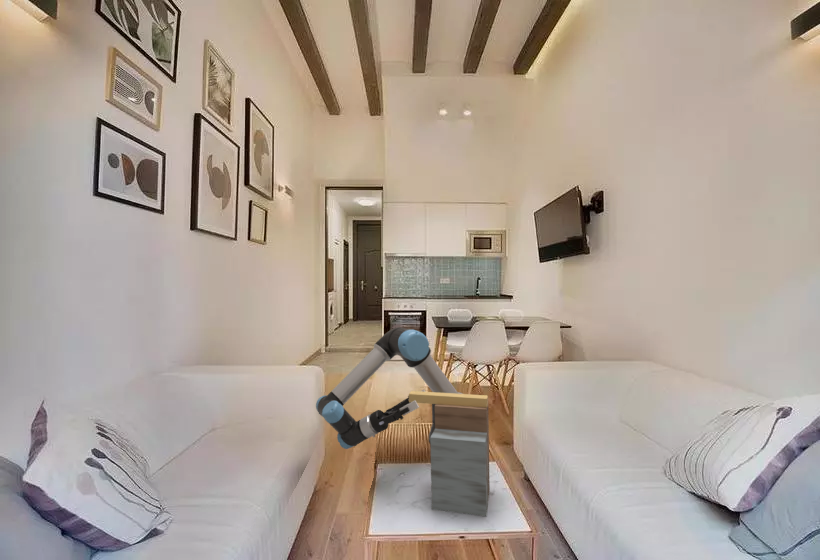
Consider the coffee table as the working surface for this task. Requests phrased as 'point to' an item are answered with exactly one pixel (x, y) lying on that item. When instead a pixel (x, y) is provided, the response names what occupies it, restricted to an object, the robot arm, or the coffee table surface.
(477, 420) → the stepped stand
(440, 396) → the ochre batten
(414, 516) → the coffee table surface
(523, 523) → the coffee table surface
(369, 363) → the robot arm
